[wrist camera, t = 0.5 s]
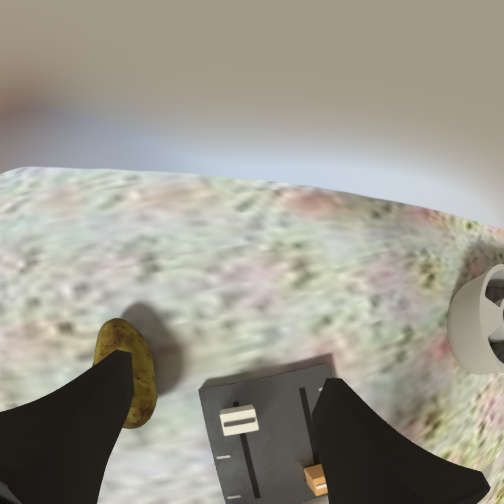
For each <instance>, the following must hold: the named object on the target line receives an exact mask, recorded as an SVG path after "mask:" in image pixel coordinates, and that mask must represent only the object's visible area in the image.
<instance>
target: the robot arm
mask: <svg viewBox="0 0 504 504" xmlns="http://www.w3.org/2000/svg"><path fill="white" fill-rule="evenodd" d="M134 393H135V392H134V380H133V367H132V353H131V352H126V351H122V350H118V349H116V350H115V351H113V352H112V353H110V354H109V355H108V356H106V357H105V358H103V359H102V360H101V361H99V362H98V363H97V364H95V365H94V366H93V367H91V368H90V369H88V370H87V371H86V372H84V373H83V374H81V375H80V376H78V377H77V378H75V379H74V380H72V381H71V382H69V383H67V384H66V385H64V386H63V387H61V388H59V389H58V390H56V391H54V392H52V393H50V394H48V395H46V396H44V397H42V398H40V399H37V400H35V401H33V402H30V403H27V404H24V405H22V406H19V407H16V408H13V409H10V410H6V411H2V412H0V504H97V501H98V496H99V492H100V487H101V483H102V479H103V476H104V472H105V468H106V465H107V462H108V459H109V457H110V454H111V452H112V450H113V447H114V445H115V443H116V441H117V438H118V436H119V434H120V432H121V429H122V427H123V425H124V422H125V420H126V418H127V416H128V413H129V410H130V406H131V403H132V399H133V396H134ZM311 415H312V425H313V433H314V439H315V443H316V447H317V451H318V454H319V458H320V462H321V466H322V469H323V473H324V477H325V481H326V485H327V491H328V499H329V504H477V503H478V502H479V501H480V500H482V499H483V498H484V497H485V496H486V495H487V493H488V492H489V490H490V488H491V487H490V486H489V484H488V482H487V480H486V479H485V477H484V475H483V473H482V472H480V471H477V470H473V469H470V468H466V467H463V466H459V465H457V464H454V463H452V462H449V461H447V460H444V459H442V458H440V457H438V456H436V455H434V454H432V453H430V452H428V451H426V450H424V449H423V448H421V447H419V446H418V445H416V444H414V443H413V442H411V441H410V440H408V439H407V438H406V437H404V436H403V435H401V434H400V433H399V432H397V431H396V430H395V429H394V428H392V427H391V426H390V425H389V424H388V423H386V422H385V421H384V420H383V419H382V418H381V417H380V416H379V415H377V414H376V413H375V412H374V411H373V410H372V409H371V408H370V407H369V406H368V405H367V404H366V403H365V402H364V401H363V400H362V399H361V398H360V397H359V396H358V395H357V394H356V393H355V392H354V391H353V390H352V389H351V388H350V387H349V386H348V385H347V384H346V383H345V382H344V381H343V380H342V379H341V378H326V380H325V383H324V385H323V388H322V390H321V393H320V395H319V398H318V400H317V403H316V405H315V407H314V410H313V412H312V414H311Z"/></svg>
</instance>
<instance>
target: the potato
mask: <svg viewBox="0 0 504 504" xmlns="http://www.w3.org/2000/svg"><path fill="white" fill-rule="evenodd" d="M116 349H118V350H122V351H126V352H131V353H132V367H133V380H134V392H135V393H134V396H133V399H132V403H131V406H130V410H129V413H128V416H127V418H126V420H125V422H124V425H123V427H122V428H127V429H134V428H138V427H141V426H142V425H144V424H145V423H146V422H147V421H148V420H149V419H150V418H151V416H152V414H153V412H154V409H155V406H156V401H157V389H156V379H155V373H154V361H153V358H152V355H151V352H150V349H149V347H148V345H147V343H146V341H145V339H144V338H143V336H142V335H141V334H140V333H139V332H138V331H137V330H136V329H135V328H134V327H133V326H131V325H130V324H129V323H128V322H127V321H125V320H123V319H120V318H115V319H111V320H109V321H107V322H106V323H105V324H103V326H102V327H101V329H100V331H99V334H98V338H97V343H96V349H95V355H94V362H93V366H94V365H95V364H97V363H98V362H99V361H101V360H102V359H103V358H105V357H106V356H108V355H109V354H110V353H112V352H113V351H115V350H116ZM93 366H92V367H93Z"/></svg>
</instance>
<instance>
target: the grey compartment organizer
mask: <svg viewBox="0 0 504 504" xmlns="http://www.w3.org/2000/svg"><path fill="white" fill-rule="evenodd" d="M487 286H490V287H501V288H504V264H498V265H496V266H494V267H492V268H490V269H489V270H487V271H486V272H484V273H483V274H482V275H480V276H478V277H476V278H474V279H472V280H471V281H469V282H467V283H466V284H464V285H463V286H462V287H461V288H460V289H459V291H458V292H457V293H456V294H455V296H454V298H453V299H452V302H451V304H450V307H449V311H448V317H447V335H448V341H449V345H450V349H451V351H452V354H453V356H454V358H455V360H456V361H457V363H458V364H459V365H460V366H461V367H462V368H463V369H464V370H466V371H468V372H470V373H474V374H477V375H483V374H491V373H498V372H499V373H504V364H503V363H502V362H501V361H499V360H498V358H497V357H496V356H495V354H494V353H493V351H492V349H491V347H490V343H500V342H504V320H503V313H504V298H503V299H500V300H498V301H497V302H496V303H493V302H491V301H490V300H489V299H487V298H486V297H485V290H486V287H487Z"/></svg>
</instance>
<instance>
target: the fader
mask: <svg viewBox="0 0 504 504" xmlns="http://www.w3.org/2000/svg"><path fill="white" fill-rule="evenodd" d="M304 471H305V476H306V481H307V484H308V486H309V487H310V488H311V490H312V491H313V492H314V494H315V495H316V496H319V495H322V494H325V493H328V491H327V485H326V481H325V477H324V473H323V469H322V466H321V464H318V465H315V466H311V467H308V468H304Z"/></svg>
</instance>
